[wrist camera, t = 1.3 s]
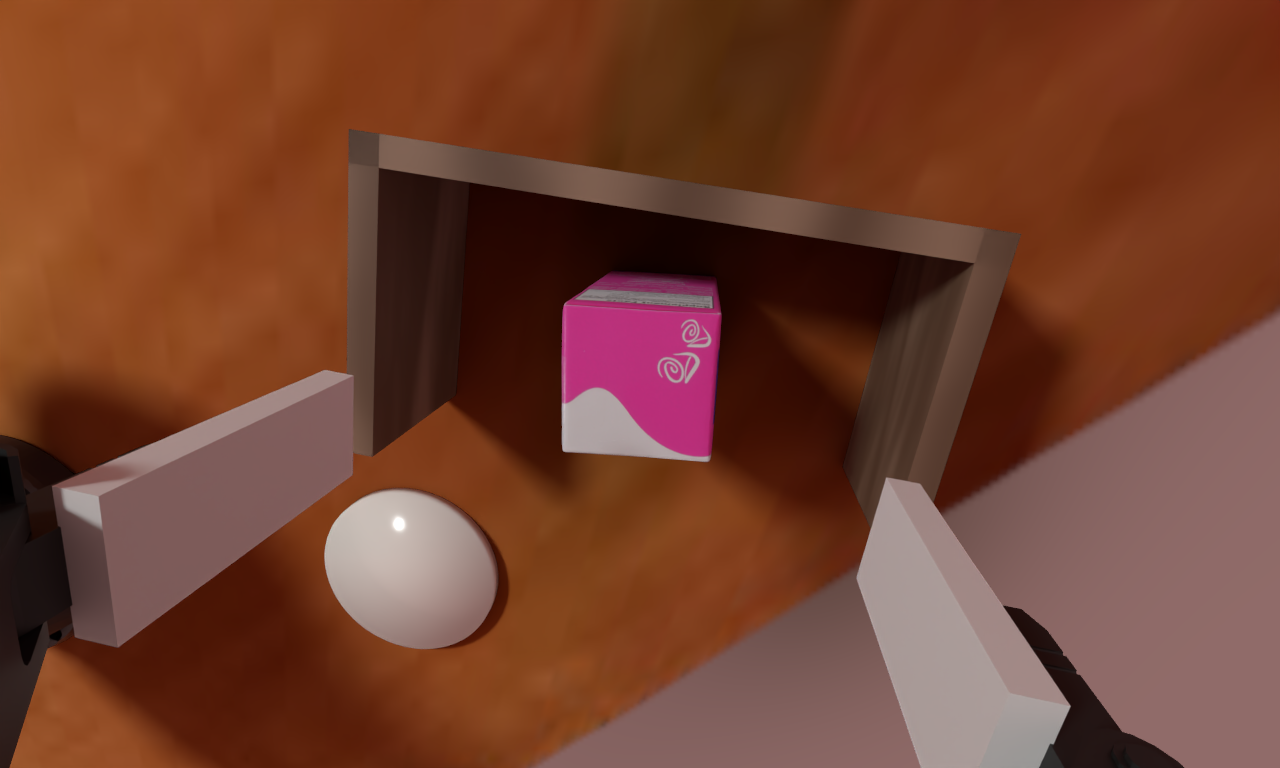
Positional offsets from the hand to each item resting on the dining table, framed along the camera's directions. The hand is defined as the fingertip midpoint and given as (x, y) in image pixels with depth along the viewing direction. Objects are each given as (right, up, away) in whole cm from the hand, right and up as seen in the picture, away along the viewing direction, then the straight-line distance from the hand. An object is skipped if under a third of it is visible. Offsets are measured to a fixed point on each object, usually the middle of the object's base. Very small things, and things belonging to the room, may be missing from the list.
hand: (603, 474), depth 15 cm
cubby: (+2, +5, +18) cm, 19 cm away
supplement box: (+2, +5, +18) cm, 19 cm away
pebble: (-13, -9, +24) cm, 29 cm away
